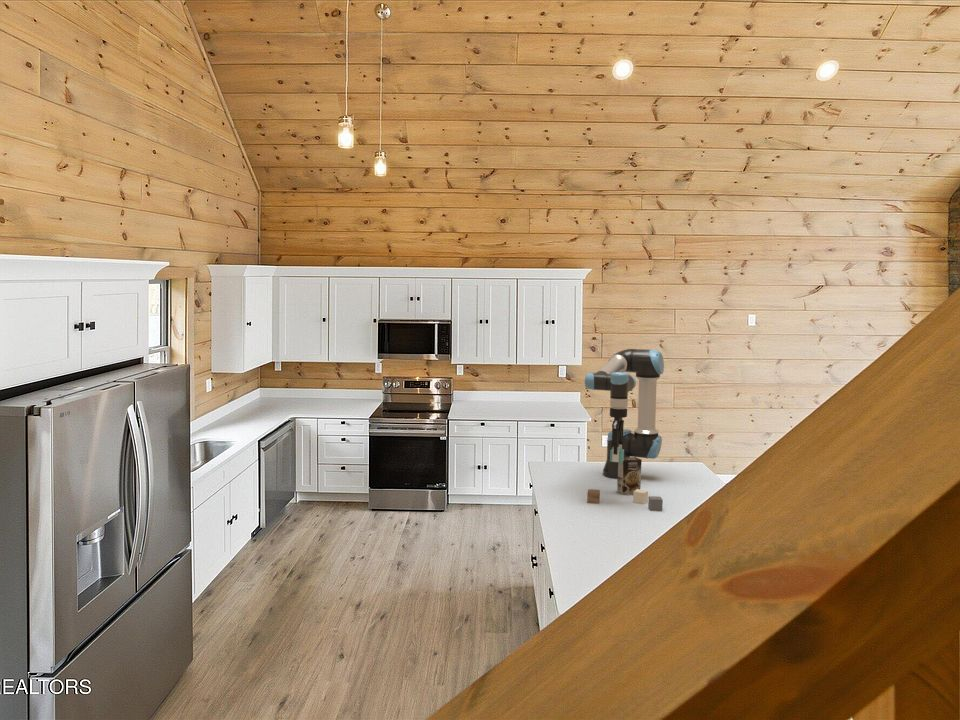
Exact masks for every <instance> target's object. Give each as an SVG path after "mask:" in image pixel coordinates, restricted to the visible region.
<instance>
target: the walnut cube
mask: <svg viewBox="0 0 960 720" xmlns="http://www.w3.org/2000/svg"><path fill="white" fill-rule="evenodd" d="M600 491H601V490H600V489H592V488H589V489H587V491H586V492H587V493H586V494H587V495H586V496H587V500H586V503H587V504H596V505H597V504H600V499H601V498H600V493H601V492H600Z"/></svg>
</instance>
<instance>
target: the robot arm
mask: <svg viewBox="0 0 960 720" xmlns="http://www.w3.org/2000/svg"><path fill="white" fill-rule="evenodd" d="M607 361H608V362H606V364H604V365H602V367H601V368H600V369H598V370H597V371H596V372H588V373H586V375H585V377H584V386H585V388H586V389H587V390H592V391H594V390H595V391H605V392H606V391H607V392H610V399H609V400H608V402H610V403H609V406H610V408H609V417H610V418H611V417H612V418H614V419H613V420H612V424H611V430H609V432H608V433H607V438H606V439H607V440H606V442H607V443H606V461H605V464H604V466H603V469H602V476H604V477H607V478H611V479H618V462H619V449H624V458H626V457H636V458H640V459H642V458H644V459H651V460H652V459H654V460H655V459H657V458H658V457H659V454H660V452H661V448H662V442H663V438H662V436H661V435H660V434H659V431H658V429H657V428H656V418H657V415H656V413H657V412H656V411H657V410H656V409H657V408H656V407H657V381H658V380H659V379H660V378H661V375H663V373H664V371H665V369H664V368H665V362H664V356H663V354H662V351H660V350H656V349H642V348H641V349H639V348H626V349H623V350H620V351H618V352H616V353H614V354H613V355H611V356H610V357H609V359H608V360H607ZM628 373H633V374H634V373H635V377H634V376H633V375H632V374H628ZM636 379H637V380H638V394H637V395H638V400H637V402H638V404H637V427H636V429H634V431H633V432H634V433H632V430H631V429H627V428H624V424H625V420H624V419H623V418H626V417H628V409H627V408H628V400H629V399H628V397H629V392H631V391H632V390H634V388H635V387H636V385H637V382H636ZM611 449H613V454H612V461H613V462H610V450H611Z"/></svg>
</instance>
